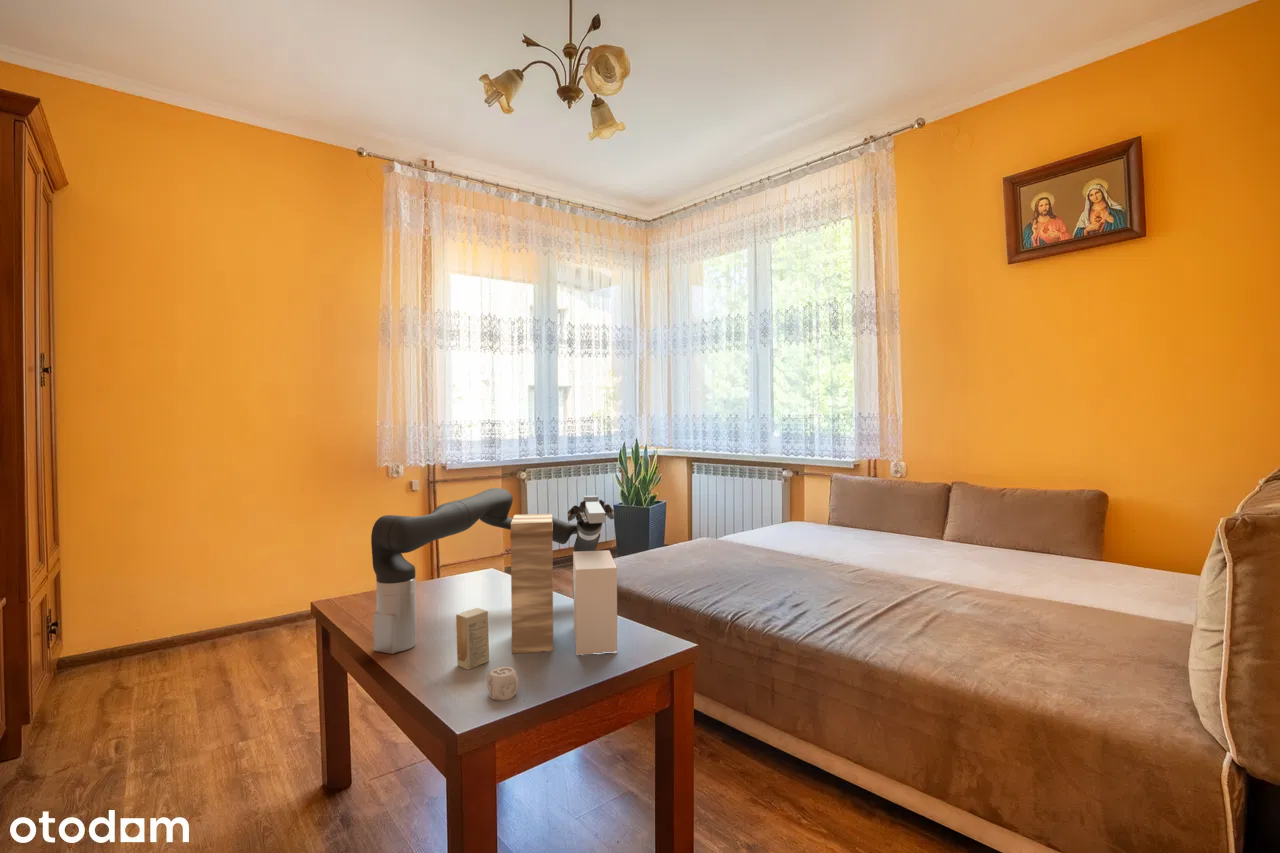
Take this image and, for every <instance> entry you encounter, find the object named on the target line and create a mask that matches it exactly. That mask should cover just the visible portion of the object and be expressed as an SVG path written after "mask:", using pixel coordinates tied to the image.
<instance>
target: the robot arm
mask: <svg viewBox="0 0 1280 853" xmlns="http://www.w3.org/2000/svg"><path fill="white" fill-rule="evenodd" d="M513 501H514V497H513V495H512V493H511V492H510V491H509V490H507V489H504V488H499V487H495V488H494V487H493V488H488V489H486V490H483V491H481V492H478V493H477V494H474V495H472V496H469V497H464V498H462V499H459V500H452V501H449V502H445V503H442V504H439V505H438V506H437V507H435V508H434V509H433V510H432V511H431V513H430V514H429V513H428V514H424V515H423V514H422V515H418V516H416V515H415V516H410V515H409V516H407V515H393V514H389V515H388V514H387V515H382V516H380V517H379V518H378V519H376V520H375V522H374V524H373V526H372V530H371V535H370V536H371V538H370V540H371V541H370V542H371V546H370V547H371V555H372V556H371V559H372V568H373V571H374V574H375V577H376V578H375V579H376V582H375V583H376V584H375V586H376V611H375V612H374V613H373V651H375V652H381V653H386V654H391V655H393V654H395V653H399V652H405V651H406V650H407V651H408V650H410V649H412V648H414V647H415V646H416V645H417V603H416V601H417V600H416V590H417V589H416V588H417V587H416V584H417V583H416V566H415V565H413V564H412V563H411V562H409V561H408V560H407V559H405V557H404V556H403V554H407V553H411V552H413V551H416V550H418V549H419V548H422V547H423V546H426V545H427V544H429V543H432V542H433V541H436V540H441V539H444V538H447V537H450V536H454V535H457V534H460V533H462V532H465V531H467V530H469V529H470V528H471V527H472V526H474V525H475V524H476V523H477V522H478V521H479V520H480V521H481V522H482V523H484V524H486V525H489V526H492V527H497V528H501V529H506V530H509V531H511V522H512V520H513V517H509V513H510V511H511V508H512V505H513ZM598 501H599V503H600V504H601V506H602V508H603V510H604V511H605V519H606V518H607V519H610V520H614V519H615V515H614V514H615V512H614V510H613V508H612V506H611V505H610V504H605V501H603V499H598ZM579 504H580V505H579V506H578V505H573V506H572V507H571V508H570V509H569V510H568V511H567V521H568V522H566V521H563V520H561V519H559V518H556V517H553V516H552V522H553V538H552V542H555V543H557V544H561V545H565V544H567V542H568V541H569V540H570V538H571V536H572V535H576V539H575V541H574V545H573V552H578V551H597V547H598V543H599V540H600V538H601V532H602V527H603V523H589V521H588V518H587V515H586V513H585V508H586V500H584V499H583V500H582V501H580V503H579ZM573 520H576V521H577V522H576V523H572V522H571V523H570V521H573Z"/></svg>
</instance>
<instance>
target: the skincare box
mask: <svg viewBox="0 0 1280 853" xmlns="http://www.w3.org/2000/svg"><path fill="white" fill-rule="evenodd" d="M488 613H489V611H488V610H485V609H482V608H480V607H475V608H473V609H468V610H466V611H462V612H460V613H457V614H455V615H456V616H455V617H456V619H455V620H456V624H455V625H456V657H457V659H456V662H457V666H459V667H461V668H462V669H465V670H471V669H473V668H476V667H478V666H480V665H483V664H485V663H487V662H489V661H490V647H489V646H490V645H489V614H488Z"/></svg>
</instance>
